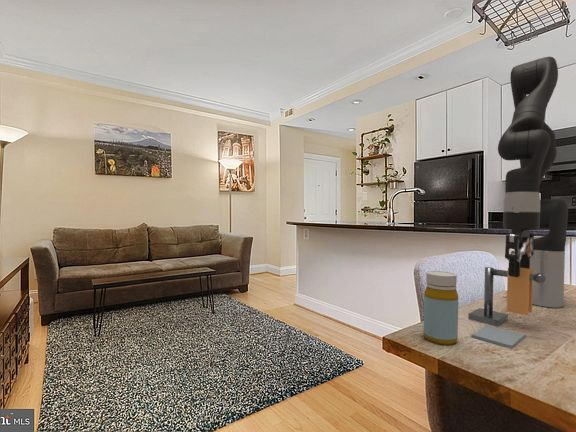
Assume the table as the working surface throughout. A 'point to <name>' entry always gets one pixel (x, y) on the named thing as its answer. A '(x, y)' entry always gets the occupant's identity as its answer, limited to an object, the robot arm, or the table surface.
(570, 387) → the table surface
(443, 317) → the bottle
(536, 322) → the table surface
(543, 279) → the stand
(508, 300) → the link
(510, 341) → the mat
